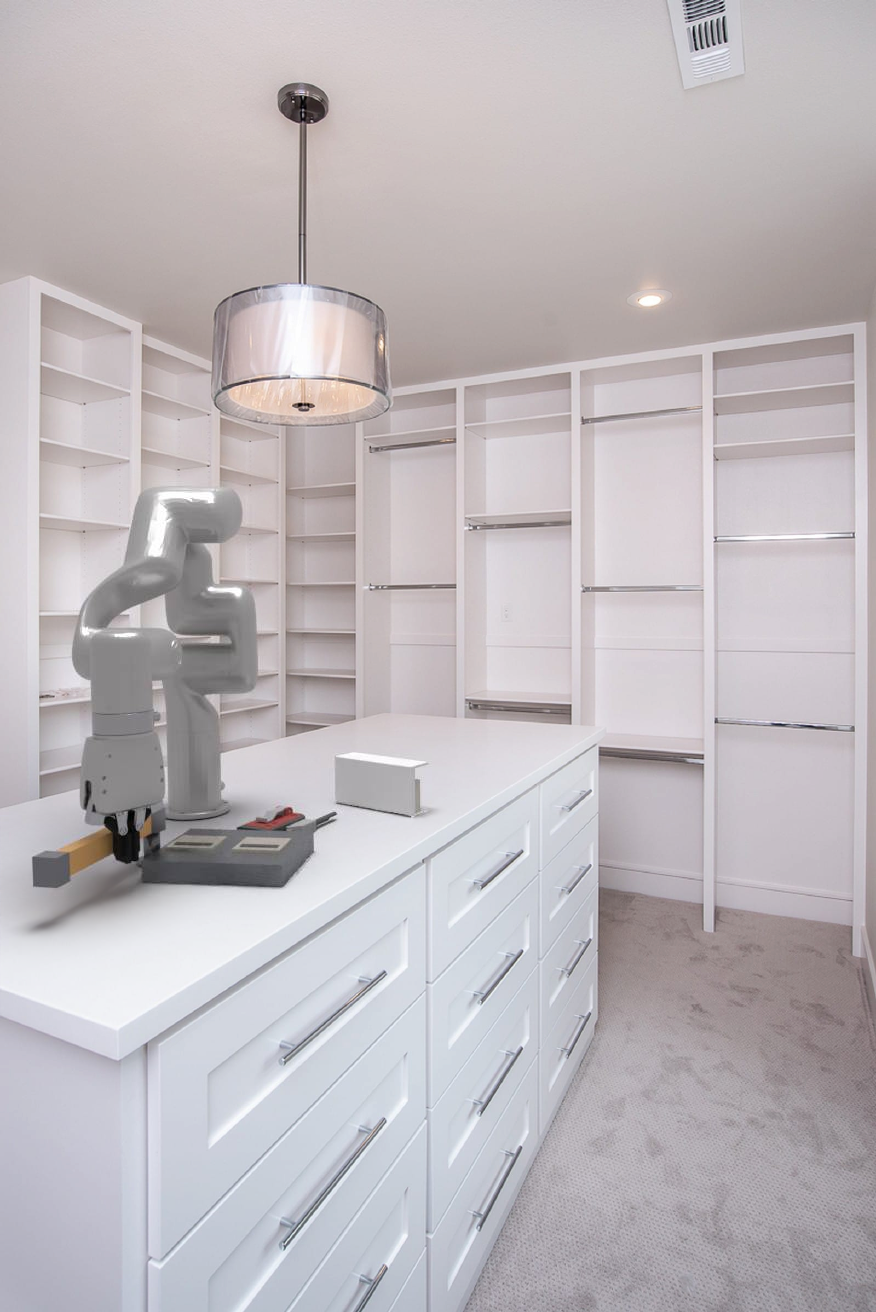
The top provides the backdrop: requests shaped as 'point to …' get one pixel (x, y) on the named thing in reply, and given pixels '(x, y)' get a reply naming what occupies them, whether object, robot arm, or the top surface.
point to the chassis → (229, 857)
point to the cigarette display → (378, 782)
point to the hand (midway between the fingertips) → (127, 860)
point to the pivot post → (149, 846)
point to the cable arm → (83, 854)
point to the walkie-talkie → (284, 821)
